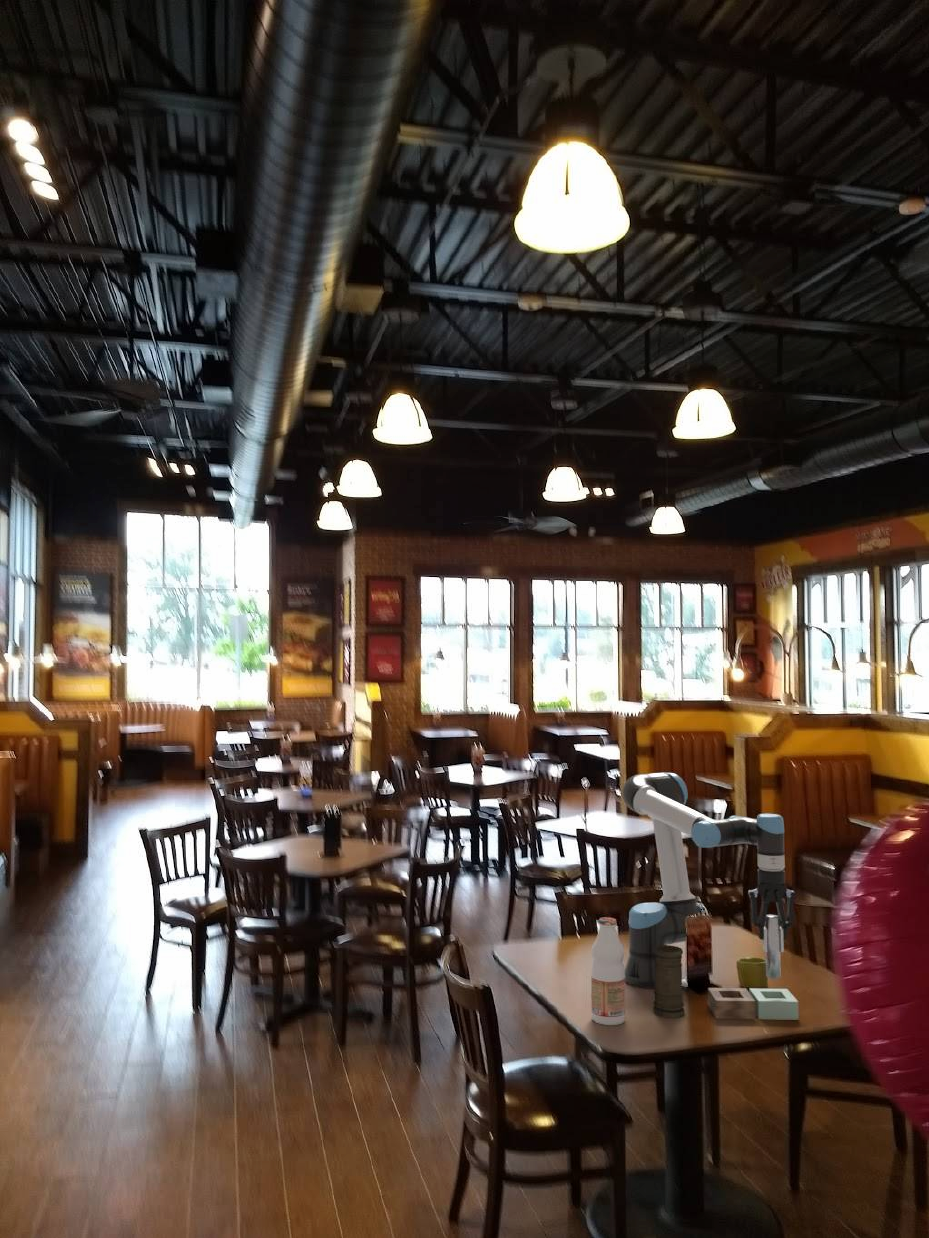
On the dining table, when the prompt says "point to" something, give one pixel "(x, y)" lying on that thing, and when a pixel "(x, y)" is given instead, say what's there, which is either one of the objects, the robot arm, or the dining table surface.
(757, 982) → the mug
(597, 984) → the fruit juice
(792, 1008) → the dock block
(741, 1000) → the block
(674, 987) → the container
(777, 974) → the pin
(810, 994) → the dining table surface
